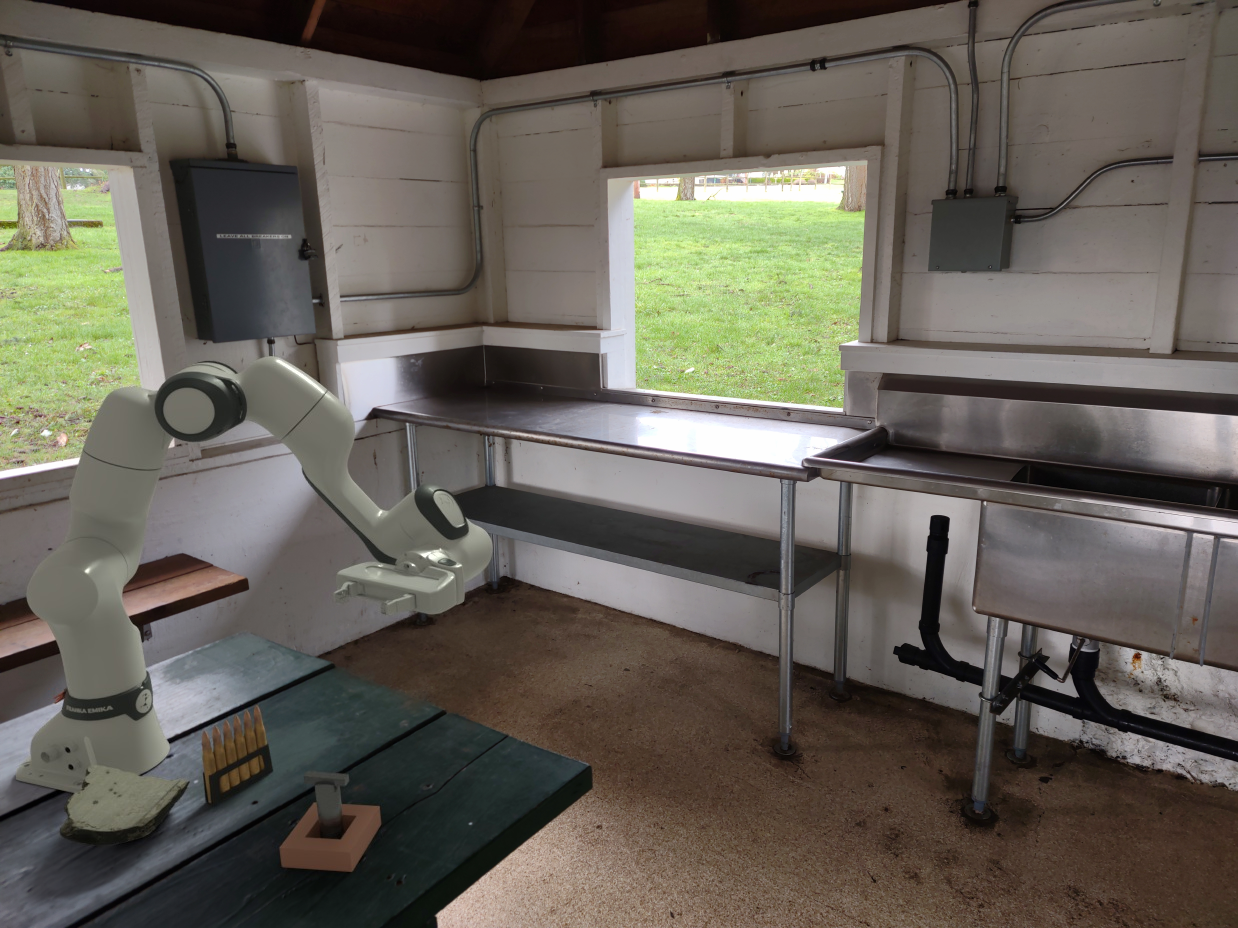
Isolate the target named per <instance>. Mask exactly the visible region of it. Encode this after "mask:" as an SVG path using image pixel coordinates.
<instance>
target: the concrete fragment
mask: <svg viewBox="0 0 1238 928" xmlns="http://www.w3.org/2000/svg"><path fill="white" fill-rule="evenodd" d="M190 782H191V781H190V779H183V778H175V779H164V778H161V777H157V776H151V775H150V776H148V775H146V776H141V775H137V774H135V773H131V772H124V771H121V770H119V769H115V768H109V767H105V766H100V765H91V766H89V767H88V768H87V770H86V776H85V779H84V781H83V783H82V791H80V792H75V793H73V795H72V796H71V797H69V798H68V800H67V802H66V803H65V805H64V808H63V811H64V812H65V814H67V815H66V816H67V818H66V819H65V821H64V823H63V824H62V825H61V826H60V828H59V835H60V836H61V837H62V838H64V839H67V840H68V841H71V842H74V843H78V844H81V845H82V844H83V845H86V846H87V845H88V846H94V847H95V846H99V847H100V846H112V845H118V844H124V843H127V842H130V841H133V840H138V839H142V838H144V837H145V836H147V835H150V834H151V833H152V831H154V830H156V828H157V827H159V825H160V824H162V822H163V821H164V819H166V817H167V815H168V814H169V813H170V812H171V810H172V809H173V808H174V807H175V805H176V803H177V802H179V800H181V798H182V797H183V796H184V794H185V793H186V791H187V789H188V786H189V784H190Z"/></svg>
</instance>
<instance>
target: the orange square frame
mask: <svg viewBox="0 0 1238 928" xmlns="http://www.w3.org/2000/svg"><path fill="white" fill-rule="evenodd" d="M341 805H342V815H343V825H344V836H343V837H342V839H341V840H339V839H323V838H320V830H319V821H318V812H317V802H313V803H312V804H311V806H310V807H309V808H308V810H307V811H306V812H305V814H304V815H303V816H302V817H301V818H300V820H299V821H298V823H297V824H296V825H295V826H294V828H293V830H292V831H291V832H290V834H289V835H288V836H287V837H286V838H285V840H284V841H283V842H282V844H281V845H280V846H279V848H278V849H279V855H280V863H281V867H282V868H291V869H302V870H303V869H305V870H306V869H307V870H319V871H321V870H322V871H336V872H348V873H349V872H350V873H352V872H353V871H354V870H355V868H356V866H357V865H358V863H359V861H360V860H361V859H362V856H363V855H364V853H365V852H366V850H367V848H368V847H369V845H370V843H371V842H372V840H373V838H375V835H377V832H378V830H379V828H380V827H381V825H382V819H381V816H382V815H381V809H380V808H381V807H380V805H367V804H366V805H365V804H364V805H363V804H351V803H349V804H347V803H341Z"/></svg>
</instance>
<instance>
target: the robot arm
mask: <svg viewBox="0 0 1238 928" xmlns="http://www.w3.org/2000/svg"><path fill="white" fill-rule="evenodd" d="M244 421H249V422H252V423H255V424H257V425H259V426H261V427H262V428H263V429H265V431H268V432H269V433H270V434H271V435H272V436H273V437H275V438H276V439H277V440H278V441H280V442H281V443H282V444H283V445H285V446H286V448H288V450H289V451H290V452H291V453H292V454H293V455H294V457H296V459H297V461H298V463H299V464H300V466H301V472H302V475H303V477H304V478H305V481H306V482H307V483H308V484H309V486H310V487H311V488H312V490H313V491H315V493H316V494H317V495H318V496H319V497H320V498H321V500H322V501H324V502H325V503H326V504H327V505H328V507H329V508H331V510H333V512H334V513H335V514H337V516H338V517H340V519H341V520H342V521H343V522H344V523H345V524H346V525H347V526H348V527H349V528H350V530H352V531H353V532H354V533H355V534H356V536H357V537H358V538H359V539H360V540H361V541H362V543H363V544H364V545H365V547H366V549H367V551H369V553H370V554H371V556H372V557H373V558H374V560H376V561H366V562H362V563H359V564H355V565H351V566H350V567H347V568H343V569H341V570H339V571H337V573H336V577H335V578H336V579H335V581H336V587H337V588H336V591H334V592H333V593H332V599H333V600H332V601H333V603H334V604H336V605H337V604H338V605H345V604H346V603H349V602H350V598H356V599H360V600H363V601H369V602H374V603H378V604H380V609H381V610H380V613H381V614H382V615H386V616H389V617H391V616H392V615H394V614H396V613H403V612H410V611H415V612H419V613H423V614H427V615H436V614H437V615H438V614H442V613H443V612H446V611H448V610H450V609H451V608H453V607H455V606H457V605H460V604H463V602H464V601H465V597H466V596H465V595H466V591H465V587H466V586H465V584H466V583H467V582H468V581H470V580H472V579H473V578H475V577H477V576H478V575H480V573H482V572H483V571H484V570H485V569H486V568H487V567H488V566H489V563H490V562H491V560H492V556H493V553H494V550H493V549H494V548H493V547H494V546H493V541H492V538H491V537H490V535H489V533H488V532H487V531H486V530H485V529H484V528H482V527H481V526H479V525H477V524H474V523H473V522H471V521H470V520H469V519H468V518H467V517H466V514H465V512H464V509H463V506H462V505H461V503H460V502H459V500H458V499H457V497H456V496H455V494H453V493H452V492H451V491H449V490H448V489H447V488H445V487H443V486H441V485H439V484H433V483H422V484H420V485H419V486H417V487H416V488H415V489H414V490H413V491H411V492H410V493H409V494H407V495H406V496H404V497H403V498H402V499H401V500H400V501H399V502H398V503H397V504H395V505H394V506H393V507H391V509H389V510H384V509H381V508H380V507H379V506H378V505H377V504H376V503H375V502H374V501H373V500H372V499H371V498H370V497H369V496H368V495H367V494H366V492H364V491H363V489H362V488H361V487H360V486H358V484H357V483H356V482H355V481H354V480H353V479H352V476H351V475H350V473H349V468H348V462H349V457H350V454H351V452H352V448H353V445H354V441H355V437H356V426H355V425H356V424H355V419H354V416H353V414H352V412H351V411H350V410H349V408H348V407H347V406H346V404H344V403H343V402H342V401H341V400H340V399H339V398H338V397H337V396H336V395H334V394H333V393H332V392H331V391H329V389H327V388H326V387H325V386H324V385H322V384H321V383H320V382H318V381H317V380H316V379H315V378H313V377H312V376H310V375H309V374H308V373H306V372H304V371H303V370H302V369H300V368H298V366H295V365H294V364H293V363H290V362H289V361H287V360H285V359H284V358H282V357H278V356H273V355H272V356H270V355H269V356H264V357H261V358H258V359H257V360H255V361H253V362H251V363H250V364H249V365H247V367H245V368H244V370H242V371H241V372H238V371H236V369H234V368H233V367H231V365H228V364H226V363H224V362H220V361H217V360H216V361H215V360H203V361H198V362H196V363H195V362H194V364H190V365H187V366H185V367H182V368H181V369H179V370H177V371H176V372H175V373H174V374H172V376H170V377H168V378H167V379H166V380H164V382H163V383H162V384H161V385H160V387H159V388H158V390H153V389H148V388H145V387H138V386H123V387H119V388H116V389H113V390H112V391H111V392H109V393H108V394H107V395H106V397H105V398H104V400H103V401H102V403H101V405H100V407H99V409H98V410H97V411H96V415H95V416H94V418H93V421H92V423H91V425H90V427H89V430H88V432H87V436H86V439H85V441H84V444H83V447H82V450H81V454H80V457H79V461H78V463H77V467H76V470H75V473H74V476H73V480H72V484H71V487H70V490H69V495H68V498H69V502H70V521H69V527H68V530H67V534H66V535H65V538H64V540H63V541H62V542H61V544H60V546H59V547H57V548H56V550H54V551H53V552H52V553H50V554H49V555H48V556H46V557H45V558H44V559H43V560H42V561H41V562H40V563H39V564H38V565H37V567H36V569H35V571H34V572H33V574H32V575H31V578H30V580H29V582H28V584H27V588H26V596H25V597H26V601H27V604H28V606H29V608H30V610H31V611H32V612H33V614H35V616H36V617H38V618H39V619H41V620H42V621H43V622H46V623H47V626H48V627H49V629H50V631H51V633H52V635H53V637H54V638H55V641H56V643H57V646H58V648H59V649H58V650H59V653H60V655H61V656H60V657H61V660H62V665H63V671H64V675H65V681H66V682H65V683H66V686H67V687H66V688H64V689H63V691H62V692H60V693H59V694H57V695H55V696H54V697H53V698H52V699H53V700H55V701H54V702H53V703H54V704H55V705H56V704H58V703H60V702H62V701H63V703H62V706H61V709H60V710H59V711H58V713H56V714H55V715H54V716H53V717H52V718H50V720H48V721H47V722H46V723H45V724H43V725H42V726H41V728H39V729H38V730H37V731H36V732H35V733H34V735H33V737H32V739H31V741H30V747H29V751H30V755H29V756H28V757H27V758H26V759H25V760H24V761H23V762H22V763H21V764H20V765H19V766H18V768H17V770H16V771H15V780H17V781H19V782H24V783H28V784H32V785H37V786H41V787H45V788H51V789H55V790H60V791H64V792H68V793H73V794H74V793H75V792H80V791H82V783H83V781H84V779H85V776H86V770H87V768H88V767H89V766H91V765H100V766H105V767H109V768H115V769H119V770H121V771H124V772H131V773H135V774H137V775H139V776H141V775H142V774H144V773H146V772H148V771H149V770H152V769H153V768H154V767H156V766H158V765H159V764H160V763H161V762H162V761H163V760H164V759H165V758H166V757H167V756H168V754H169V752H170V750H171V745H170V743H169V741H168V739H167V737H166V735H165V733H164V732H163V729H162V726H161V724H160V721H159V719H158V715H157V712H156V710H155V709H156V708H155V706H154V690H153V685H152V678H151V675H150V672H149V671H148V670H147V668H146V661H145V656H144V648H143V642H142V638H141V637H142V636H141V631H140V630H139V628H138V627H137V626H136V625H135V624H133V622H132V621H131V619H130V617H129V614H128V612H127V609H126V608H125V603H124V600H123V599H124V598H123V590H124V587H125V586H126V585H127V584H128V583H129V581H130V580H131V579H132V578H133V577H134V576H135V574H136V573H137V570H138V568H139V566H140V562H141V558H142V554H143V552H142V551H143V548H144V542H145V537H146V530H147V524H148V516H149V512H150V508H151V505H152V501H153V498H154V496H155V492H156V489H157V485H158V483H159V480H160V479H159V478H160V476H161V473H162V470H163V467H164V463H165V460H166V456H167V454H168V451H169V447H170V446H171V444H172V442H173V440H174V439H177V440H179V441H181V442H187V443H201V442H202V443H203V442H207V441H209V440H214V439H216V438H218V437H219V436H221V435H222V436H223V434H225V433H226V432H228V431H229V430H231V429H233V428H236V427H237V426H240V425H241V424H242V423H244Z"/></svg>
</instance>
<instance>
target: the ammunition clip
mask: <svg viewBox="0 0 1238 928" xmlns="http://www.w3.org/2000/svg"><path fill="white" fill-rule="evenodd" d="M253 709H254V710H253V721H252V717H251V715H250V712H249V711H248V710H247V709H246V710H244V713H243V727H242V724H241V719H240V718H239V716H238V715H237V714H236V715H234V718H233V723H232V724H233V725H232V727H233V734H232V729H231V725H230V723H229V722H228V720H224V722H223V726H222V734H223V741H222V736H221V731H220V729H219V728H218V726H217V725H213V729H212V742H211V739H210V736H209V734H208V732H207V731H206V730H203V732H202V735H201V747H202V756H201V757H202V766H203V772H202V778H203V788H204V789H203V790H204V798H205V799H204V800H205V803H207V804H208V805H210V806H212V807H214V806H216V805H218V804H220V803H221V802H223V801H225V800H226V799H228V798H230V797H232V796H234V795H236V794H237V793H238V792H240V791H242V790H244V789H245V788H247V787H248V786H251V785H252V784H255V783H256V782H257V781H260V780H261V779H263V778H264V777H266V776H268V775H270V774H271V773H273V772H274V766H273V761H272V756H271V751H270V750H271V749H270V746H269V743H267V735H266V729H265V726H264V722H263V717H262V711H261V710H260V707H259V705H257V704H255V705H254V708H253ZM253 725H254V726H253ZM242 728H243V729H242ZM243 730H244V731H243ZM211 743H212V744H211ZM212 745H213V748H212Z"/></svg>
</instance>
